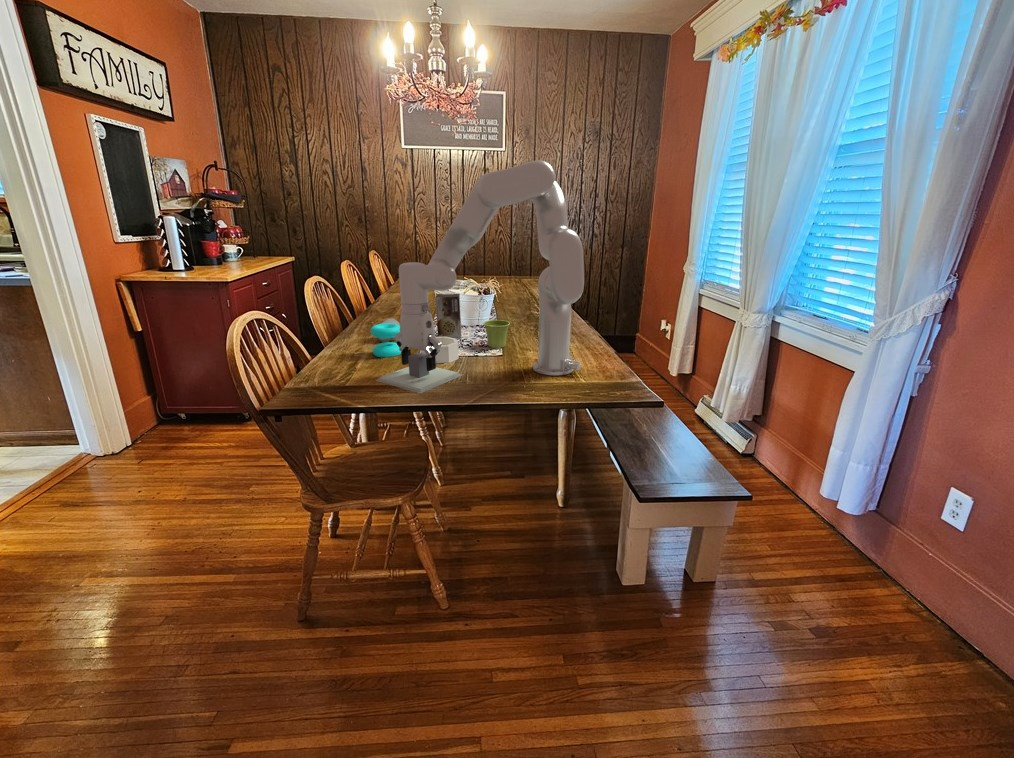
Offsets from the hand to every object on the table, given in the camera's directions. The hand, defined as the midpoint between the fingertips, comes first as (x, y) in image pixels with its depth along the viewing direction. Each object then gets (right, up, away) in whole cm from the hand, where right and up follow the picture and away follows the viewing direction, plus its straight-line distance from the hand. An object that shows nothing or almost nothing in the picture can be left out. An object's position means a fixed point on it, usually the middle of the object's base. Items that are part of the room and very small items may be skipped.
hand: (418, 366), depth 139 cm
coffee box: (+3, +13, +47) cm, 49 cm away
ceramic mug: (-17, +11, +41) cm, 46 cm away
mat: (0, -4, +1) cm, 4 cm away
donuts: (-15, +5, +24) cm, 29 cm away
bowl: (+3, +3, +20) cm, 20 cm away
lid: (0, -3, +1) cm, 3 cm away
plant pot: (+22, +8, +34) cm, 41 cm away
